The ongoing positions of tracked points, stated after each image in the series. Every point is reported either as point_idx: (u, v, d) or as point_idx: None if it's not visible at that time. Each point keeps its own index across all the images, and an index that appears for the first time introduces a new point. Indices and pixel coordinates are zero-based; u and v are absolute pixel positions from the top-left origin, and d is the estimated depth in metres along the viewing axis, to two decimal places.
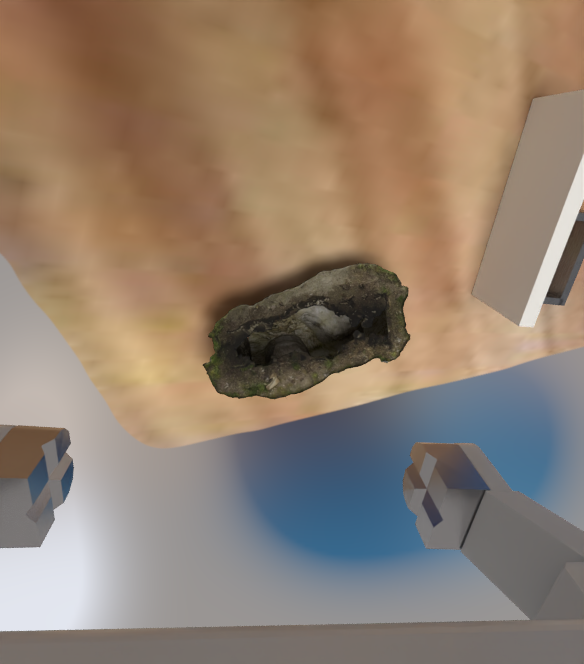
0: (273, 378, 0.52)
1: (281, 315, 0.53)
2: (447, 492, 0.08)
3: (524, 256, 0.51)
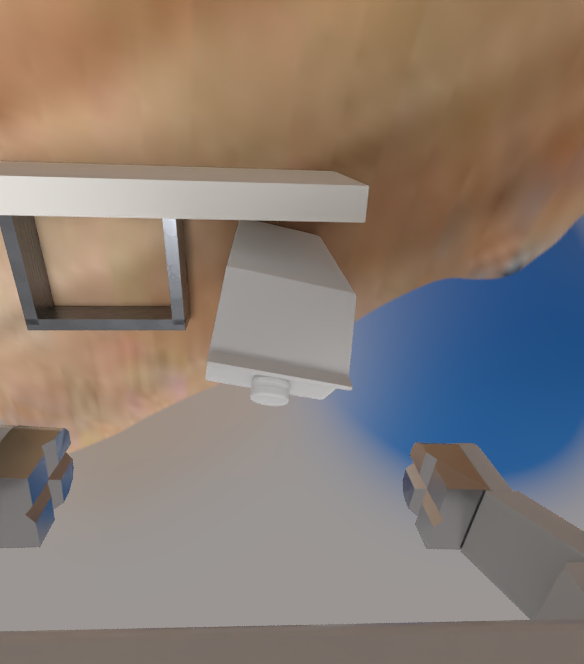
0: None
1: None
2: (447, 492, 0.08)
3: (57, 171, 0.24)
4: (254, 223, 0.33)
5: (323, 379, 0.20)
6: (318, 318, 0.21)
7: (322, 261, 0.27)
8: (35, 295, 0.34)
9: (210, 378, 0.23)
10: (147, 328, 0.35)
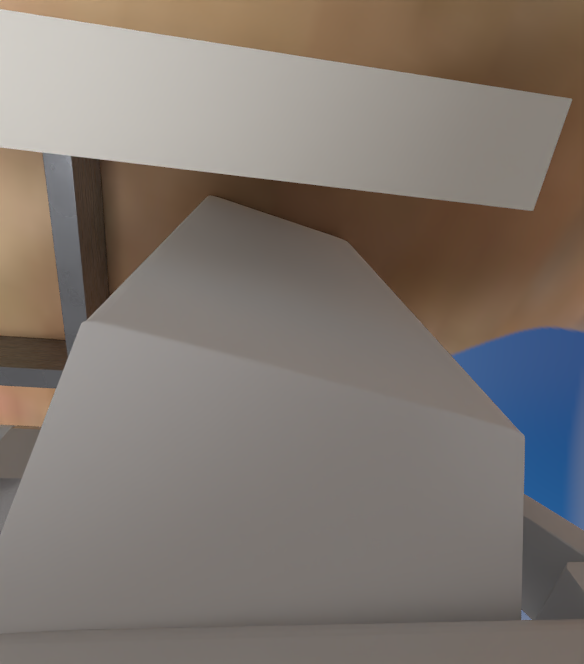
0: None
1: None
2: None
3: None
4: (232, 207, 0.18)
5: None
6: (410, 530, 0.06)
7: (376, 298, 0.12)
8: None
9: None
10: (22, 383, 0.19)
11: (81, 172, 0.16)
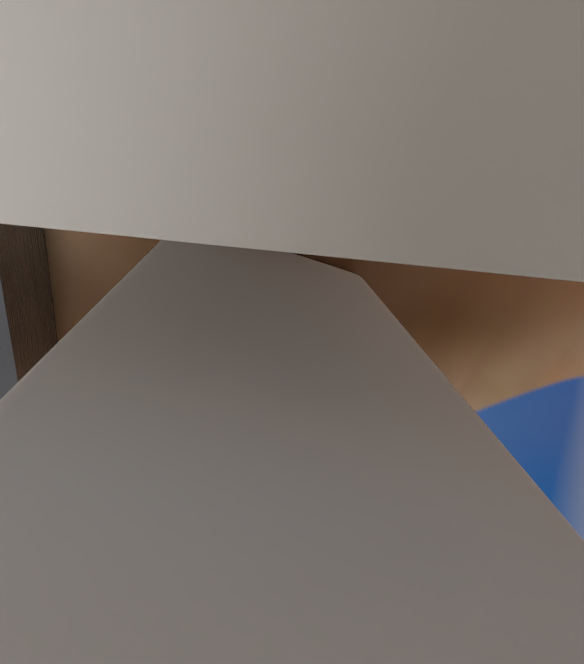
0: None
1: None
2: None
3: None
4: None
5: None
6: None
7: (429, 402, 0.07)
8: None
9: None
10: None
11: None
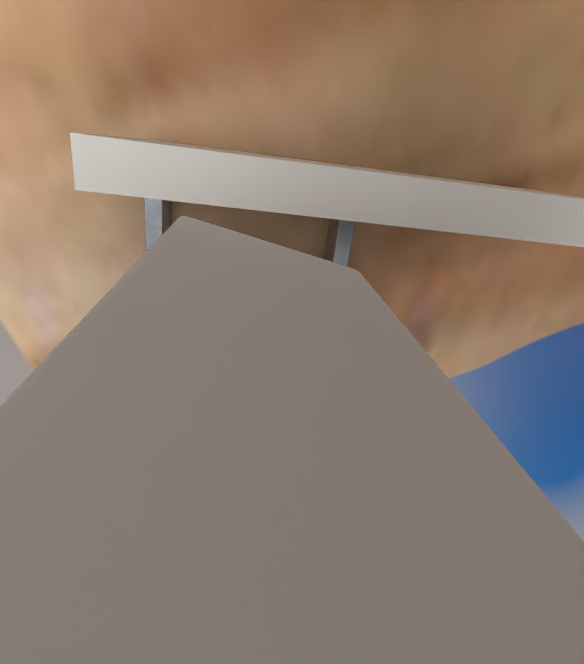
0: None
1: None
2: None
3: (279, 158, 0.19)
4: (211, 233, 0.13)
5: None
6: None
7: (426, 397, 0.07)
8: None
9: None
10: None
11: None
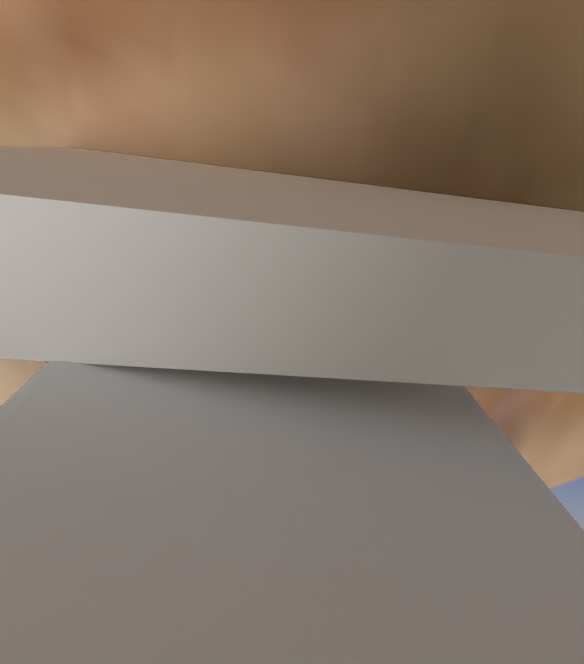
0: None
1: None
2: None
3: (318, 199, 0.08)
4: None
5: None
6: None
7: (424, 385, 0.08)
8: None
9: None
10: None
11: None
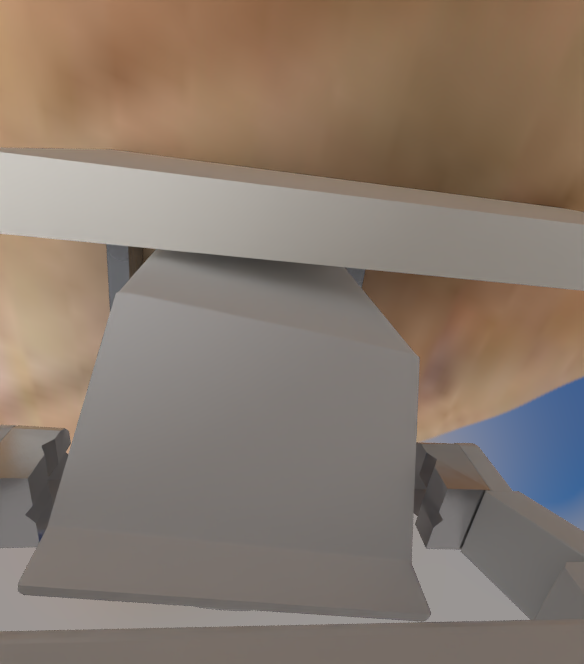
0: None
1: None
2: (447, 492, 0.08)
3: (277, 179, 0.14)
4: None
5: (356, 595, 0.08)
6: (337, 417, 0.09)
7: (331, 277, 0.15)
8: None
9: None
10: None
11: None
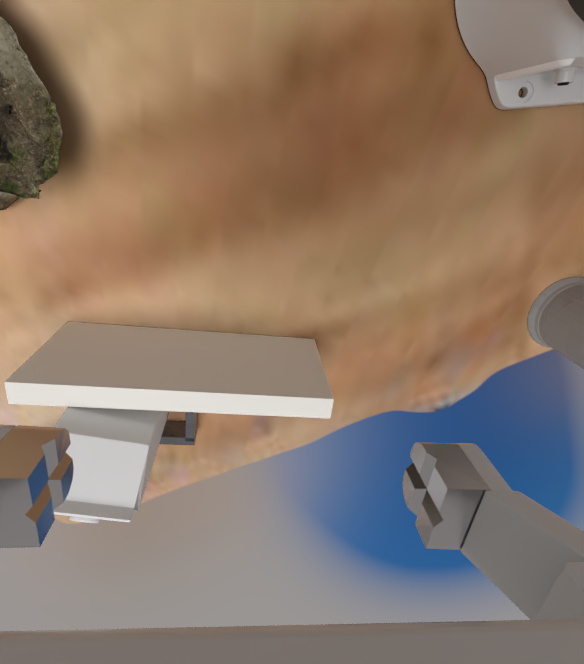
0: None
1: None
2: (447, 492, 0.08)
3: (124, 366, 0.36)
4: None
5: (109, 514, 0.29)
6: (116, 466, 0.31)
7: None
8: None
9: None
10: (165, 443, 0.46)
11: None
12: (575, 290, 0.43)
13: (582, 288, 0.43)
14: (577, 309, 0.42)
